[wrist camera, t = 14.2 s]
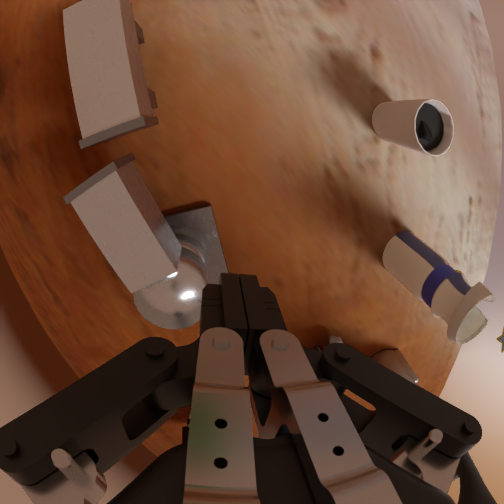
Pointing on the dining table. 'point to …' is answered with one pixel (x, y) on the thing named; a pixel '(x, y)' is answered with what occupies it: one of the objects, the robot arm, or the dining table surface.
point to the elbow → (141, 245)
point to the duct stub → (200, 238)
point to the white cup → (415, 125)
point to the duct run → (107, 70)
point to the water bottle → (438, 286)
